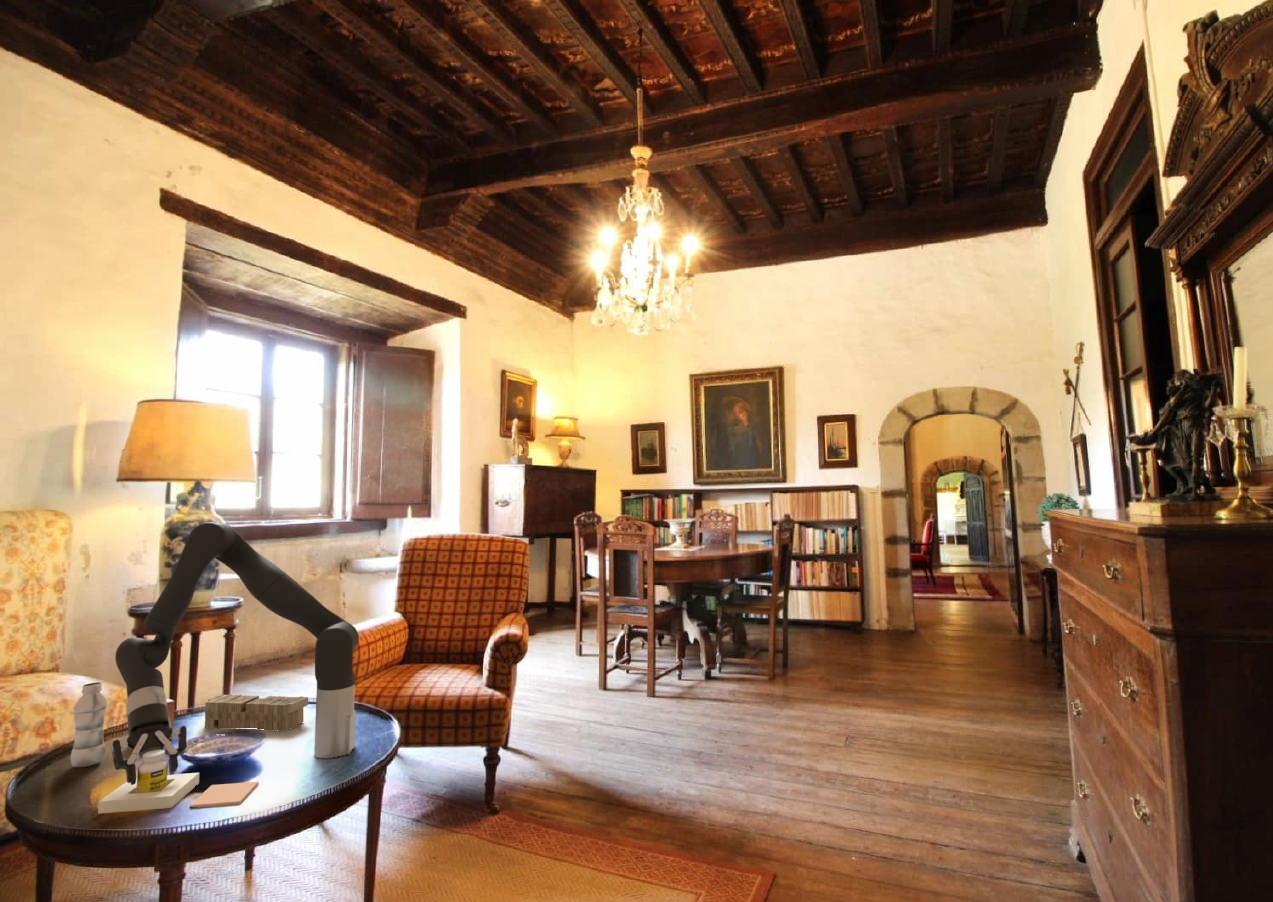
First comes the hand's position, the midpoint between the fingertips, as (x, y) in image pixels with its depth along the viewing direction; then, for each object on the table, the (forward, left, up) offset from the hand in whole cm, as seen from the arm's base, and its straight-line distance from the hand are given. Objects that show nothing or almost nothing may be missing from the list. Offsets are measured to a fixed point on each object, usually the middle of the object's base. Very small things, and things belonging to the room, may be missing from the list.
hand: (153, 777), depth 141 cm
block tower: (-3, -48, -5) cm, 49 cm away
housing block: (+1, -1, -5) cm, 5 cm away
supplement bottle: (+1, -1, -5) cm, 5 cm away
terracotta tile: (-15, +1, -5) cm, 16 cm away
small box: (+20, -39, -5) cm, 44 cm away
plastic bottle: (+27, -24, -5) cm, 37 cm away
